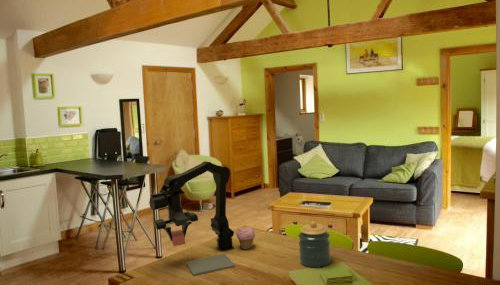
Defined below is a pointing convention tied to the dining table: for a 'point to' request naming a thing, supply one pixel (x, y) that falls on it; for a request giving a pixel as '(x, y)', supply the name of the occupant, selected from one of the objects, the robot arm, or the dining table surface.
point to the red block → (178, 237)
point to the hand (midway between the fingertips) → (177, 239)
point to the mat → (209, 264)
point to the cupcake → (245, 237)
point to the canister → (314, 245)
